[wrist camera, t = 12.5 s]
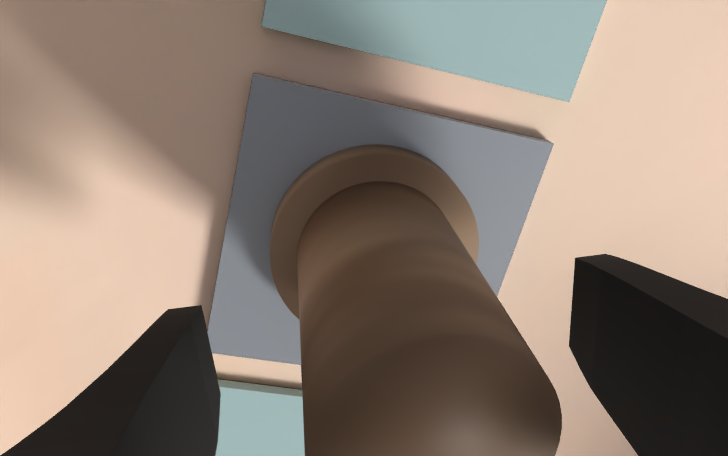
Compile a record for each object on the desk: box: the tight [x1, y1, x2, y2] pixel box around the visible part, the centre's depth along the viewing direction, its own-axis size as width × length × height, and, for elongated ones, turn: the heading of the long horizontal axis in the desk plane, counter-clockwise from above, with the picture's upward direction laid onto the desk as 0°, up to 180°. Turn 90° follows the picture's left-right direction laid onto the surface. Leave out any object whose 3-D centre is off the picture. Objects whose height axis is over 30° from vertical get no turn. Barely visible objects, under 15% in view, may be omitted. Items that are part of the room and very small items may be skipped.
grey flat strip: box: [207, 0, 607, 456], centre depth 15 cm, size 7×39×1 cm, turn 166°
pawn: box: [270, 144, 562, 456], centre depth 11 cm, size 5×5×7 cm
